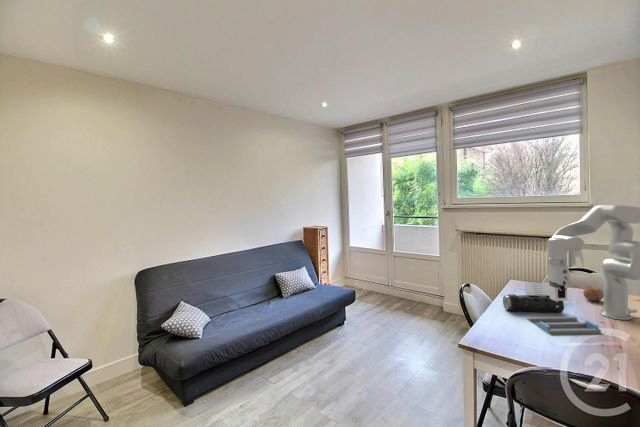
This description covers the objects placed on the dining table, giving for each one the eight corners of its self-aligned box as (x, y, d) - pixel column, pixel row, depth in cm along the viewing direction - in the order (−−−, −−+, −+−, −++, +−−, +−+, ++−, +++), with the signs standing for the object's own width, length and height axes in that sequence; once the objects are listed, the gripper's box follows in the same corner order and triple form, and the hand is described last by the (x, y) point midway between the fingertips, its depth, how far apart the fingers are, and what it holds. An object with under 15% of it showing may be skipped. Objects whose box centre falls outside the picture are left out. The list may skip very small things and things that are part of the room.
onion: (585, 303, 192) (578, 287, 196) (603, 301, 189) (596, 285, 193) (590, 303, 184) (582, 286, 188) (609, 300, 181) (601, 283, 185)
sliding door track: (571, 319, 164) (571, 312, 163) (604, 336, 144) (604, 328, 144) (526, 320, 165) (526, 313, 165) (552, 337, 145) (552, 329, 145)
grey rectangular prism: (561, 297, 159) (561, 282, 159) (567, 300, 155) (567, 285, 155) (549, 298, 159) (549, 283, 159) (555, 301, 156) (554, 285, 155)
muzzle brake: (564, 316, 168) (564, 298, 167) (508, 315, 174) (508, 297, 173) (554, 310, 177) (554, 293, 177) (502, 308, 183) (502, 292, 182)
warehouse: (525, 290, 215) (525, 279, 214) (550, 293, 207) (550, 282, 206) (525, 304, 190) (525, 292, 189) (554, 307, 182) (554, 295, 181)
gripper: (578, 265, 148) (578, 301, 149) (553, 257, 164) (554, 290, 165) (562, 266, 148) (562, 302, 149) (539, 258, 165) (540, 291, 166)
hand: (558, 295), depth 157 cm, fingers closed on grey rectangular prism, 4 cm apart
